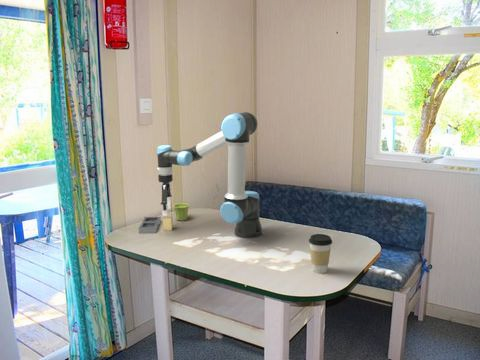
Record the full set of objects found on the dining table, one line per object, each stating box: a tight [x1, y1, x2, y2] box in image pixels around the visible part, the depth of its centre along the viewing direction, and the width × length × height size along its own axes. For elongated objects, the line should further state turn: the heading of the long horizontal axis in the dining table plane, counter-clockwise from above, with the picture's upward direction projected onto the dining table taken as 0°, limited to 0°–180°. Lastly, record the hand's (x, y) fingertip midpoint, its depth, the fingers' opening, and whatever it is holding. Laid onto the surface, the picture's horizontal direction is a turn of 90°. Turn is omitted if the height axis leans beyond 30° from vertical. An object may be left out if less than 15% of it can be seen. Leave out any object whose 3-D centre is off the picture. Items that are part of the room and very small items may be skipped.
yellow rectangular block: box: [162, 215, 174, 232], centre depth 252 cm, size 4×4×7 cm
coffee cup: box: [308, 233, 333, 274], centre depth 194 cm, size 10×10×15 cm
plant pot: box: [173, 202, 190, 222], centre depth 269 cm, size 9×9×9 cm
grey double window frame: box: [138, 216, 162, 234], centre depth 256 cm, size 9×20×3 cm, turn 2°
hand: (166, 212), depth 250 cm, fingers open, 13 cm apart
